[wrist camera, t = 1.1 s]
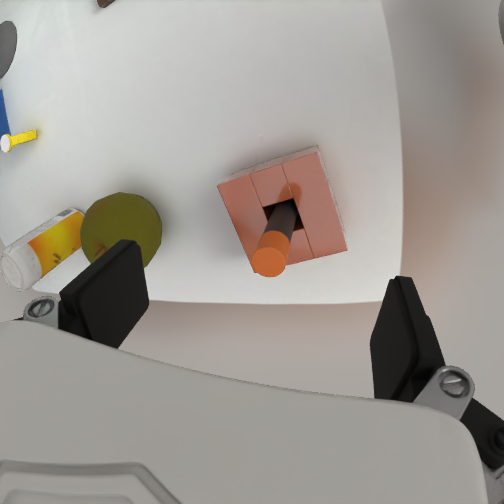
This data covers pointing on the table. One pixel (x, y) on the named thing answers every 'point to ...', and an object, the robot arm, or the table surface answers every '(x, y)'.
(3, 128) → the milk carton
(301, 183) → the holder
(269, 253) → the marker
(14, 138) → the watch
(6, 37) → the cup
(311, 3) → the table surface
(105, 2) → the brown flat wooden board
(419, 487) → the robot arm
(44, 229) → the beer can
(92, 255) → the apple
